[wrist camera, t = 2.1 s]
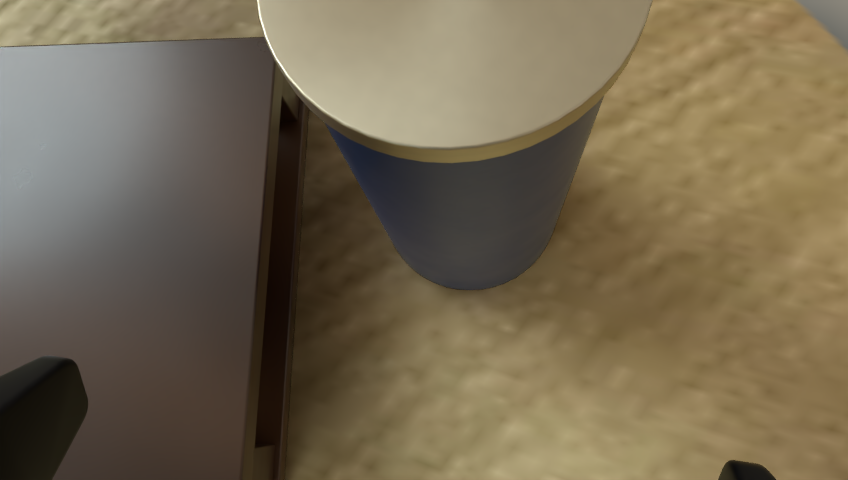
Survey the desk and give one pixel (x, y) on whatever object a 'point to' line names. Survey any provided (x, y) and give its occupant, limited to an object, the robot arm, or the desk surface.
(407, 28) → the blue cylinder
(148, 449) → the rack
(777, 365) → the desk surface
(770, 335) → the desk surface
